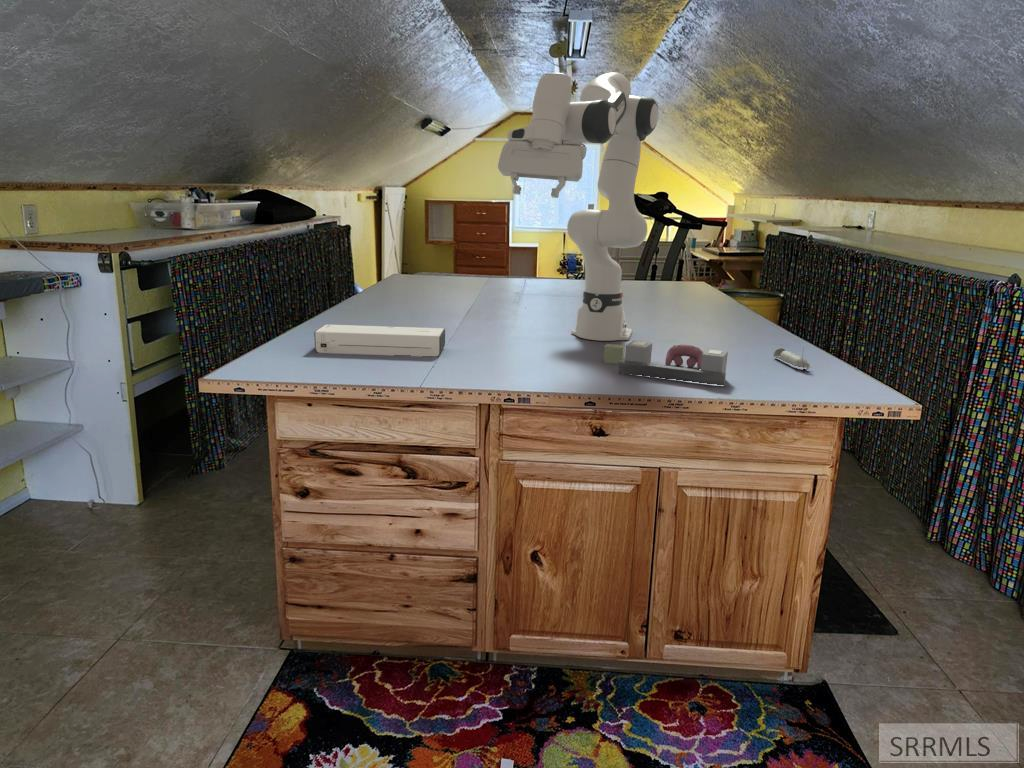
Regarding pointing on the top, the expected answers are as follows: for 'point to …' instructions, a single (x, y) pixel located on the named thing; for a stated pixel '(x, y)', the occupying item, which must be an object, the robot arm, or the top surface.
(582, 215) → the robot arm
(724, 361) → the mounted modules
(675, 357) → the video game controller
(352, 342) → the laminator
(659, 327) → the top surface
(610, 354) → the block
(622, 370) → the rail bar
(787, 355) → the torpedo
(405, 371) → the top surface
